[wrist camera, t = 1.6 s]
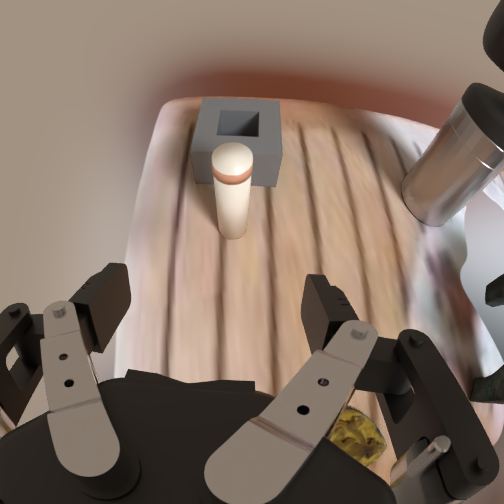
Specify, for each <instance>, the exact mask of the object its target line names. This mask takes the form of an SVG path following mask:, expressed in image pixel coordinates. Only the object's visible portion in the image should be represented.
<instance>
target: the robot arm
mask: <svg viewBox="0 0 504 504" xmlns="http://www.w3.org/2000/svg"><path fill="white" fill-rule="evenodd" d="M483 47H484V50H485V52H486V54H487V55H488V57H489V58H490V59H491V60H492V61H493V62H494V63H495V64H496V65H497V66H498V67H499V68H500V69H501V70H502V71H503V72H504V0H501V1H500V2H499V4H498V5H497V7H496V9H495V10H494V12H493V14H492V15H491V17H490V19H489V21H488V23H487V26H486V29H485V32H484V36H483ZM503 169H504V93H501V92H499V91H497V90H495V89H493V88H491V87H488V86H486V85H484V84H481V83H472V84H471V85H470V86H469V87H468V88H467V90H466V91H465V93H464V95H463V96H462V98H461V99H460V101H459V102H458V104H457V105H456V107H455V108H454V110H453V111H452V113H451V115H450V116H449V118H448V119H447V121H446V122H445V124H444V125H443V126H442V128H441V129H440V131H439V132H438V134H437V135H436V136H435V138H434V139H433V141H432V142H431V143H430V145H429V146H428V148H427V149H426V150H425V152H424V153H423V154H422V156H421V157H420V159H419V160H418V161H417V163H416V164H415V165H414V167H413V168H412V169H411V171H410V172H409V173H408V175H407V176H406V177H405V178H404V180H403V182H402V186H401V190H402V196H403V199H404V201H405V203H406V205H407V207H408V208H409V210H410V211H411V212H412V213H413V215H414V216H415V217H416V218H418V219H419V220H420V221H421V222H423V223H425V224H427V225H429V226H433V227H438V226H441V225H443V224H445V223H446V222H447V221H448V220H449V219H450V218H452V217H453V216H454V215H455V214H456V213H457V212H459V211H460V210H461V209H462V208H463V207H464V206H465V205H467V204H468V203H469V202H470V201H471V200H472V199H473V198H474V197H475V196H476V195H477V194H478V193H480V192H481V191H482V190H483V189H484V188H485V187H486V186H487V185H488V184H489V183H490V182H491V181H492V180H493V179H494V178H495V177H496V176H497V175H498V174H499V173H500V172H501V171H502V170H503ZM130 304H131V291H130V285H129V277H128V270H127V266H126V264H121V263H109V264H108V265H107V266H106V267H105V268H104V269H103V270H102V271H101V272H99V273H97V274H95V275H93V276H92V277H90V278H89V279H88V280H87V281H86V282H85V284H83V285H82V287H81V289H79V290H78V291H77V292H76V293H75V294H74V295H73V296H72V297H71V298H70V300H69V301H58V302H55V303H52V304H51V305H49V306H48V307H46V309H45V310H44V313H43V314H34V315H33V314H32V315H31V314H30V311H29V308H28V306H27V305H26V304H24V303H16V304H13V305H10V306H8V307H7V308H6V309H5V310H3V312H2V313H1V314H0V504H461V503H463V502H464V501H466V500H467V499H469V498H470V497H472V496H473V495H475V494H476V493H478V492H479V491H480V490H482V489H483V488H485V487H486V486H487V485H489V484H490V483H491V482H492V481H493V480H494V479H495V478H496V476H497V474H498V471H499V460H498V457H497V454H496V452H495V450H494V448H493V446H492V444H491V442H490V440H489V438H488V436H487V434H486V432H485V430H484V428H483V426H482V424H481V422H480V420H479V418H478V416H477V414H476V413H475V411H474V409H473V407H472V405H471V404H470V402H469V400H468V398H467V397H466V395H465V393H464V391H463V390H462V388H461V386H460V385H459V383H458V381H457V380H456V378H455V377H454V375H453V373H452V372H451V370H450V369H449V367H448V365H447V364H446V362H445V361H444V359H443V358H442V356H441V355H440V353H439V351H438V350H437V348H436V347H435V345H434V344H433V342H432V341H431V340H430V338H429V337H428V336H427V335H425V334H424V333H422V332H420V331H418V330H413V329H406V330H403V331H401V332H400V334H399V336H398V339H397V340H395V339H389V338H383V337H379V336H378V332H377V330H376V329H375V328H374V327H373V326H372V325H370V324H369V323H366V322H364V321H360V320H359V318H358V317H357V315H356V313H355V311H354V310H353V308H352V306H351V305H350V303H349V301H348V300H347V297H346V296H345V294H344V292H343V291H341V290H340V289H339V288H337V287H336V286H330V284H329V282H328V280H327V278H326V276H325V275H318V274H308V275H307V276H306V280H305V286H304V292H303V298H302V304H301V319H302V322H303V326H304V329H305V333H306V336H307V340H308V343H309V347H310V350H311V354H312V356H311V357H310V358H309V360H308V361H307V362H306V363H305V364H304V366H303V367H302V368H301V369H300V370H299V372H298V373H297V374H296V375H295V376H294V377H293V379H292V380H291V381H290V382H289V383H288V384H287V386H286V387H285V388H284V389H283V390H282V391H281V392H280V393H279V395H278V396H277V397H274V396H272V395H269V394H266V393H263V392H260V391H256V390H255V381H235V380H217V381H208V382H199V383H184V382H181V381H178V380H175V379H172V378H169V377H166V376H163V375H160V374H157V373H150V372H144V371H137V370H131V369H128V371H127V373H126V376H125V378H115V379H110V380H106V381H103V382H101V383H100V382H99V379H98V376H97V374H96V371H95V368H94V365H93V362H92V359H91V356H90V354H91V352H92V351H93V352H98V353H103V352H104V350H105V348H106V346H107V344H108V343H109V341H110V339H111V338H112V336H113V334H114V332H115V331H116V329H117V327H118V326H119V324H120V322H121V320H122V319H123V317H124V315H125V314H126V312H127V310H128V309H129V307H130ZM13 346H14V347H15V349H16V351H17V353H18V355H19V358H18V359H17V360H16V362H15V364H14V365H13V366H12V368H11V369H10V371H9V370H8V369H7V366H6V357H7V354H8V353H9V352H10V350H11V349H12V348H13ZM43 375H44V382H45V389H46V394H47V400H48V406H49V411H47V412H46V413H44V414H42V415H40V416H38V417H36V418H34V419H32V420H31V421H29V422H27V423H25V424H23V425H21V426H19V427H17V428H16V426H17V424H18V422H19V420H20V418H21V416H22V414H23V412H24V410H25V408H26V406H27V404H28V402H29V400H30V398H31V396H32V394H33V393H34V391H35V389H36V387H37V385H38V383H39V382H40V380H41V378H42V376H43ZM411 385H412V387H413V389H414V392H413V390H412V388H411ZM355 390H362V391H369V392H375V394H376V396H377V399H378V402H379V405H380V408H381V411H382V414H383V417H384V420H385V423H386V426H387V429H388V432H389V435H390V438H391V441H392V445H393V448H394V451H395V455H396V458H397V462H396V463H395V464H394V465H393V466H392V468H391V472H390V480H391V482H390V486H389V485H388V484H387V483H386V482H385V481H384V480H383V479H382V478H381V477H379V476H378V475H377V474H375V473H374V472H372V471H371V470H369V469H368V468H367V467H365V466H364V465H362V464H361V463H360V462H358V461H357V460H356V459H354V458H353V457H352V456H350V455H349V454H348V453H346V452H345V451H344V450H342V449H341V448H340V447H338V446H337V445H336V444H335V443H333V442H332V441H331V440H329V439H328V438H329V437H330V435H331V433H332V431H333V430H334V428H335V426H336V424H337V423H338V421H339V419H340V417H341V416H342V414H343V412H344V411H345V409H346V407H347V405H348V403H349V402H350V400H351V398H352V396H353V394H354V392H355ZM414 393H415V395H414Z"/></svg>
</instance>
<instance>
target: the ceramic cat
mask: <svg viewBox="0 0 504 504" xmlns="http://www.w3.org/2000/svg"><path fill="white" fill-rule="evenodd" d="M485 301H486V304H487V305H490V306H491V307H495V306H500V305H504V274H503V275H501V276H499V277H498V278H497V279H495V280H494V281H492V282H491V283H489V284H488V285H487V286H486V293H485ZM470 401H473V402H480V403H496V404H504V365H503V366H502V367H501V368H499V369H498V370H497V371H496V372H495V373H493V374H492V375H490V376H487V377H485V378H476V379H474V384H473V391H472V394H471V397H470Z"/></svg>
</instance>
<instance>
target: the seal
mask: <svg viewBox="0 0 504 504" xmlns="http://www.w3.org/2000/svg"><path fill="white" fill-rule="evenodd" d="M328 439H329V440H331V441H332V442H333V443H335V444H336V445H337V446H338V447H340V448H341V449H342V450H344V451H345V452H346V453H348V454H349V455H350V456H352V457H353V458H354V459H356V460H357V461H358V462H360V463H361V464H362V465H364V466H365V467H367V466H369V465H370V464H372V463H373V462H375V461H376V460H377V459H378V458H379V457H380V456H381V455H382V453H383V452H384V451H385V449H386V447H387V444H386V442H385V440H384V437H383V436H382V434H381V433H380V431H379V429H378V428H377V426H376V425H375V424H374V422H373V421H372V420H370V419H369V418H368V417H367V416H366V415H365V414H363V413H361V412H359V411H357V410H353V409H348V408H346V409H345V411H344V412H343V414H342V416H341V417H340V419H339V421H338V423H337V424H336V426H335V428H334V430H333V431H332V433H331V435H330V437H329V438H328Z"/></svg>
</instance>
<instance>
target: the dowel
mask: <svg viewBox="0 0 504 504" xmlns="http://www.w3.org/2000/svg"><path fill="white" fill-rule="evenodd" d="M211 163H212V172H213V178H214V188H215V198H216V208H217V217H218V226H219V232H220V234H221V235H222V236H223V237H224V238H226V239H229V240H236V239H239V238H241V237H242V236H243V235H244V234H245V233H246V230H247V220H248V208H249V196H250V185H251V174H252V169H253V154H252V152H251V150H250V149H249V148H248V147H247V146H245V145H243V144H241V143H236V142H229V143H224V144H222V145H220V146H218V147H217V148H216V149H215V150H214V151H213V153H212V159H211Z"/></svg>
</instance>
